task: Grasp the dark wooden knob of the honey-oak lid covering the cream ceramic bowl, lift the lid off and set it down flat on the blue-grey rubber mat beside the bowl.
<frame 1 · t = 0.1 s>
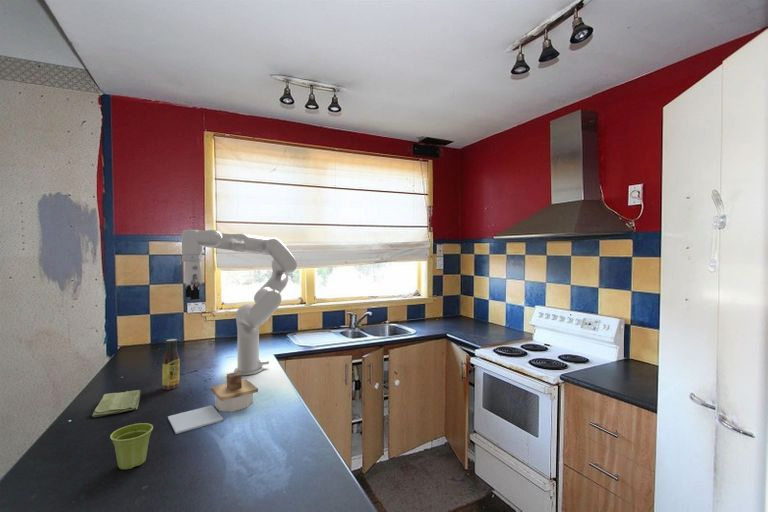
hand: (192, 298, 155), 37 cm above the counter, fingers open, 9 cm apart
mat: (195, 419, 122), on the counter
sauce bottle: (171, 387, 151), on the counter
washcloth: (119, 407, 133), on the counter
plant pot: (132, 463, 97), on the counter
bowl: (234, 404, 134), on the counter
lid: (234, 390, 134), point 5 cm above the counter, touching bowl
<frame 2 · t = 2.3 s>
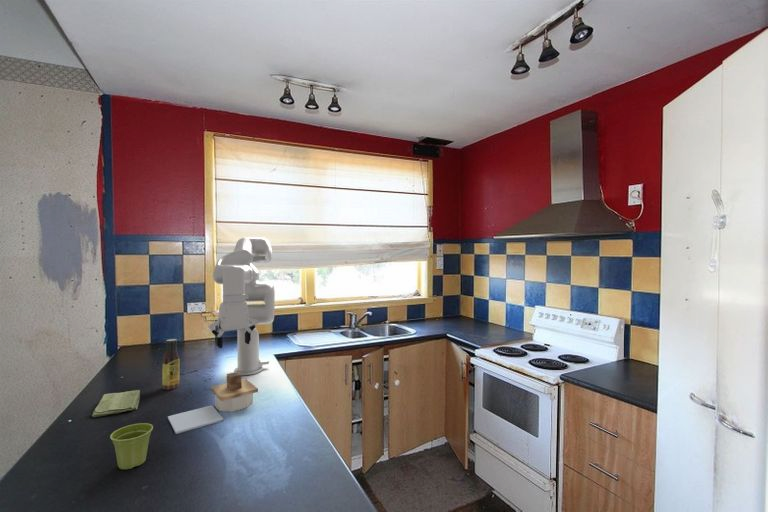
hand: (233, 345, 133), 22 cm above the counter, fingers open, 9 cm apart
nothing on the counter moved.
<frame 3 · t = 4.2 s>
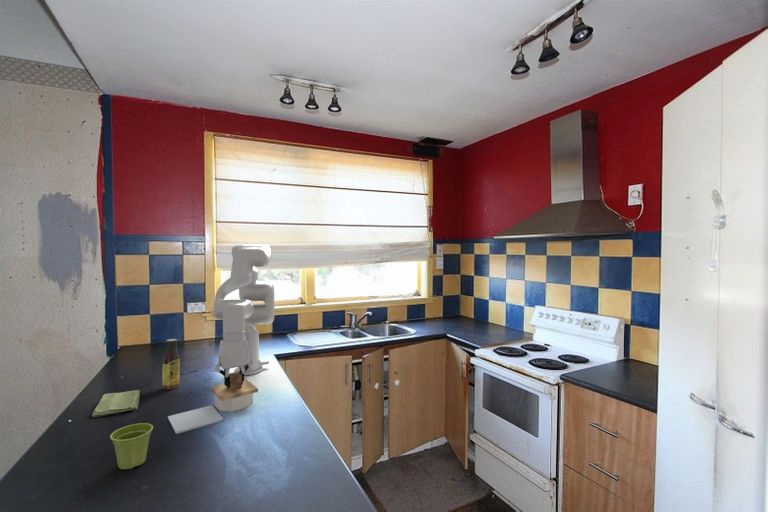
hand: (234, 384, 134), 7 cm above the counter, fingers closed on lid, 4 cm apart
lid: (234, 390, 134), point 5 cm above the counter, touching bowl, gripper
everything else where it was.
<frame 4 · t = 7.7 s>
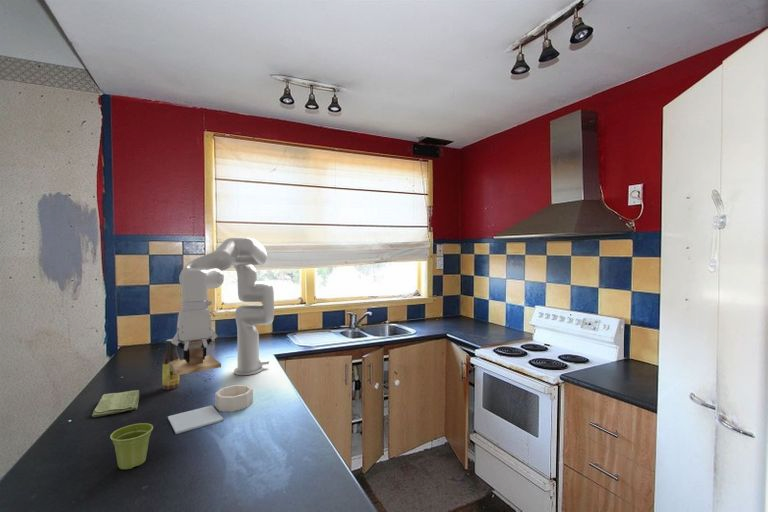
hand: (195, 359, 122), 20 cm above the counter, fingers closed on lid, 4 cm apart
lid: (195, 366, 122), point 18 cm above the counter, touching gripper
everything else where it was.
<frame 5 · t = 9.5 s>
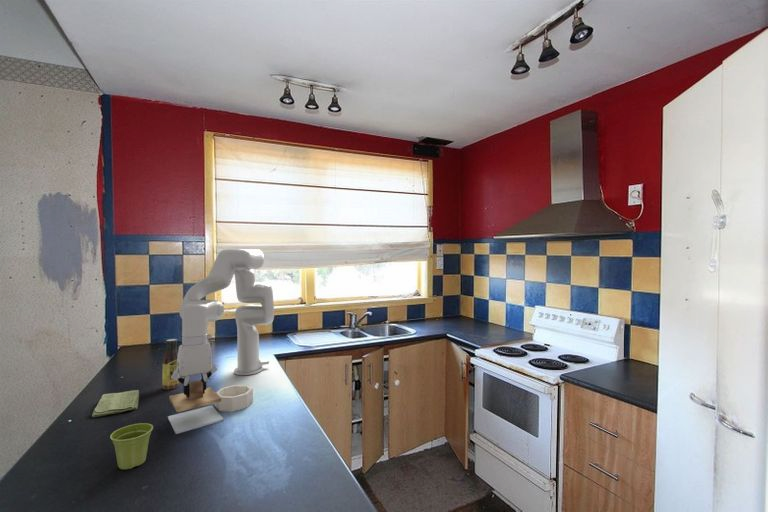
hand: (195, 393, 122), 9 cm above the counter, fingers closed on lid, 4 cm apart
lid: (195, 400, 122), point 6 cm above the counter, touching gripper
everything else where it was.
when the fingers open (4 cm above the counter, at t = 11.2 s): lid drops 2 cm, resting on mat.
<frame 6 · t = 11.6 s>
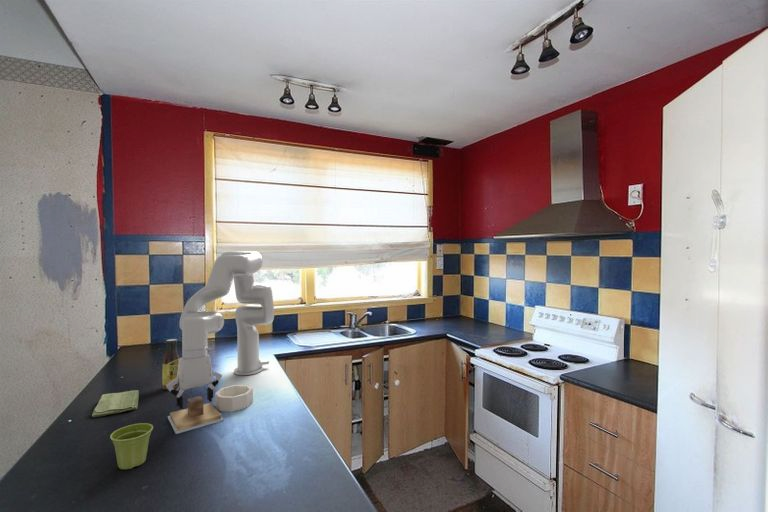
hand: (195, 403, 122), 5 cm above the counter, fingers open, 8 cm apart
lid: (195, 417, 122), point 1 cm above the counter, touching mat
everything else where it was.
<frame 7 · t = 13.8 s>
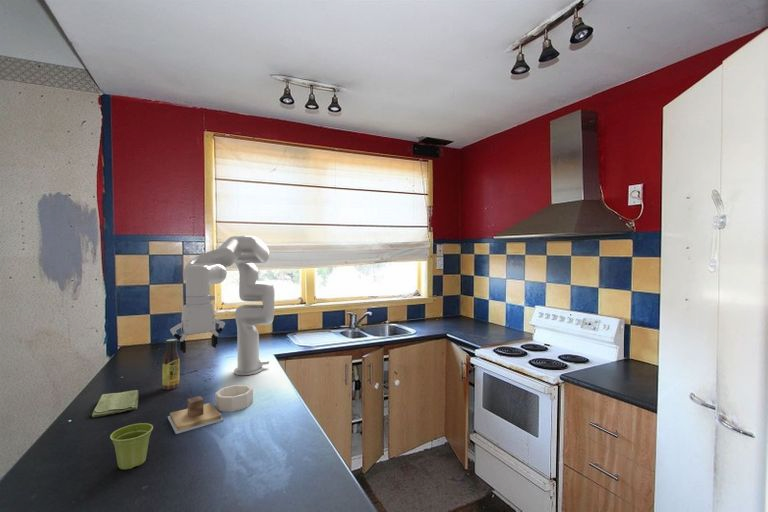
hand: (199, 349, 126), 23 cm above the counter, fingers open, 9 cm apart
nothing on the counter moved.
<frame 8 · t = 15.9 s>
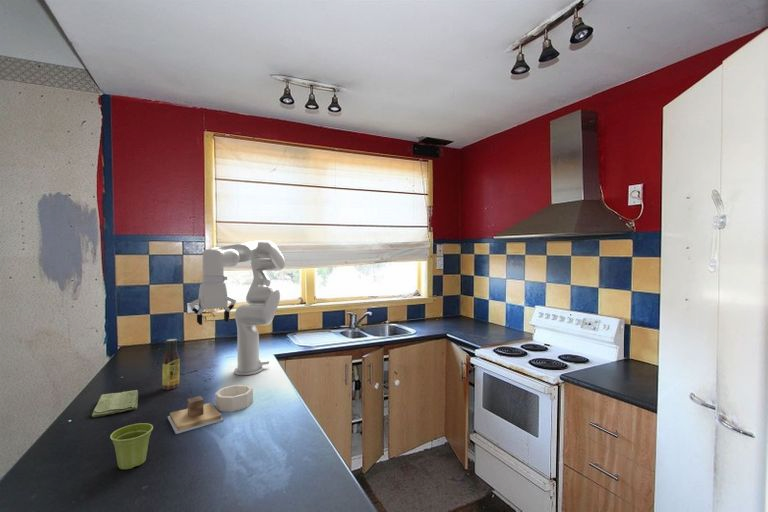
hand: (213, 322, 144), 28 cm above the counter, fingers open, 9 cm apart
nothing on the counter moved.
at the end: lid inside the target area on the mat (0.1 cm from its centre), point 0.6 cm above the mat's base; lid touching mat; lid tilted 0° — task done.
